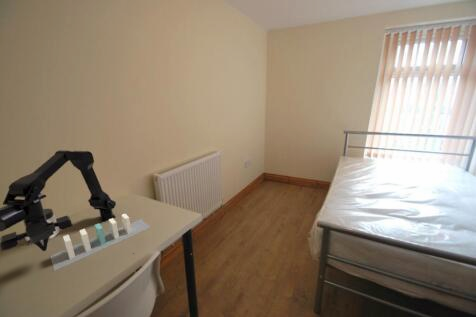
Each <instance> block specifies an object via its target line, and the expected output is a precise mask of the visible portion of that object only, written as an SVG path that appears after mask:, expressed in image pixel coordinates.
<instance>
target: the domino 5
mask: <svg viewBox="0 0 476 317" xmlns="http://www.w3.org/2000/svg"><path fill="white" fill-rule="evenodd" d="M130 220H131V219H130V217H129V216H128V214H126V213H122V214H121V221H122V226H123V228H124V230H125V231H126V232H127V234H128V233H131V232H132V231H131V225H130V223H131V221H130Z"/></svg>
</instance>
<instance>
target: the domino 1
mask: <svg viewBox="0 0 476 317" xmlns="http://www.w3.org/2000/svg"><path fill="white" fill-rule="evenodd" d="M62 239H63V243H64V245H65V250H67V253H68V256H69V258H70V259H71V258H74V257H75V253H74V250H73V246H74V245H73V243H72V240H71V238H70V235H69V234H65V235H63V236H62Z"/></svg>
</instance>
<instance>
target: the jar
mask: <svg viewBox="0 0 476 317" xmlns="http://www.w3.org/2000/svg"><path fill="white" fill-rule="evenodd" d="M43 210H44V213H45V216H46V220H47V222H48V223H51V222H53V223H55V222H56V219H57V218H56V215H55V214H54V211H53V209H52V208H43ZM55 229H56V231H54V232H53V233H54V234H53V235H51V236H50V237H49V239H48V240H50V239H53V238H54V237H56V236H57V235H58V234H59V233H60V229H59V227H56V228H55ZM41 242H43V240H41Z"/></svg>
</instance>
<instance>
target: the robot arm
mask: <svg viewBox="0 0 476 317" xmlns="http://www.w3.org/2000/svg"><path fill="white" fill-rule="evenodd" d="M68 161H69V162H70V163H71V164H72V165H73V167H74V168H76V169H77V170H78V171H80V173H81V175H82V179H83V180H84V182H85V184H86V187H87V189H88V191H89V193H90V198H89V199H88V200H87V202H88V203H89V206H90V207H92V208H93V209H94V210H99V215H100V216H98V219H99V221H100V222H101V223H105V222H109V219H112V218H113V219H116V218H117V217H116V215H115V214H114V212H113V209H115V207H116V204H117V202H116V201H115V200H112V199H111V197H110V196H109V194H108V193H107V192H106V191H104V190H103V188H102V186H101V184H100V181H99V179H98V177H97V174H96V172H95V170H94V163H95V159H94V154H93V153H92V152H91V151H88V150H72V151H70V150H66V149H65V150H62V149H61V150H60V149H59V150H56V152H55V153H54V155H52V156H51V157H50V158H48V159H47V160H46V161H45V162H44V163H42V164H41V165H40V166H39V167H37V169H35V170H34V171H33V172H30V173H29V174H27V175H24V176H22V177H20V178H18V179H16V180H15V181H13V182H11V183H10V185H9V186H8V191H7V194H6V196H5V198H4V201H3V203H2V205H3V206H2V207H0V232H4V231H5V230H8V229H9V228H12V227H13V226H15V225H17V224H19V223H21V222H23V224H24V228H25V231H24V232H22V233H19V234H18V233H17V231H14V232H11V233H7V234H4V235H1V237H0V248H1V251H7V250H10V249H12V248H15V247H16V246H17V245H18V244H19V241H21V240H25V242H26V244H34V245H35V246H37V247H38V248H39V249H40V250H42V252H46V251H47V248H48V244H49V243H48V242H49V240H50V239H49V237H50V236H51V235H53V234H54V233H53V232H54V231H56V229H55V228H56V227H58V229H59V230H63V231H64V230H66V229H69V228H71V227H73V222H72V220H71V218H70V216H68V215H65V216H64V215H63V216H62V217H61V216H60V217H57V218H56V222H55V223H53V222H51V223H48V222H47V220H46V216H45V213H44V210H43V209H44V207H43V203H42V201H41V200H42V199H45V198H46V197H47V195H46V194H43V193H41V192H42V191H43V190H44V189H45V187H46V184H47V181H48V180H49V179H50V178H51V177H52V176H53V175H54V174H56V173H57V171H59V170H60V169H61V168H62V167H63V166H64V165H65V164H66V163H67V162H68ZM17 198H18V199H17ZM22 198H24V199H22ZM41 240H43V241H41Z"/></svg>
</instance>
